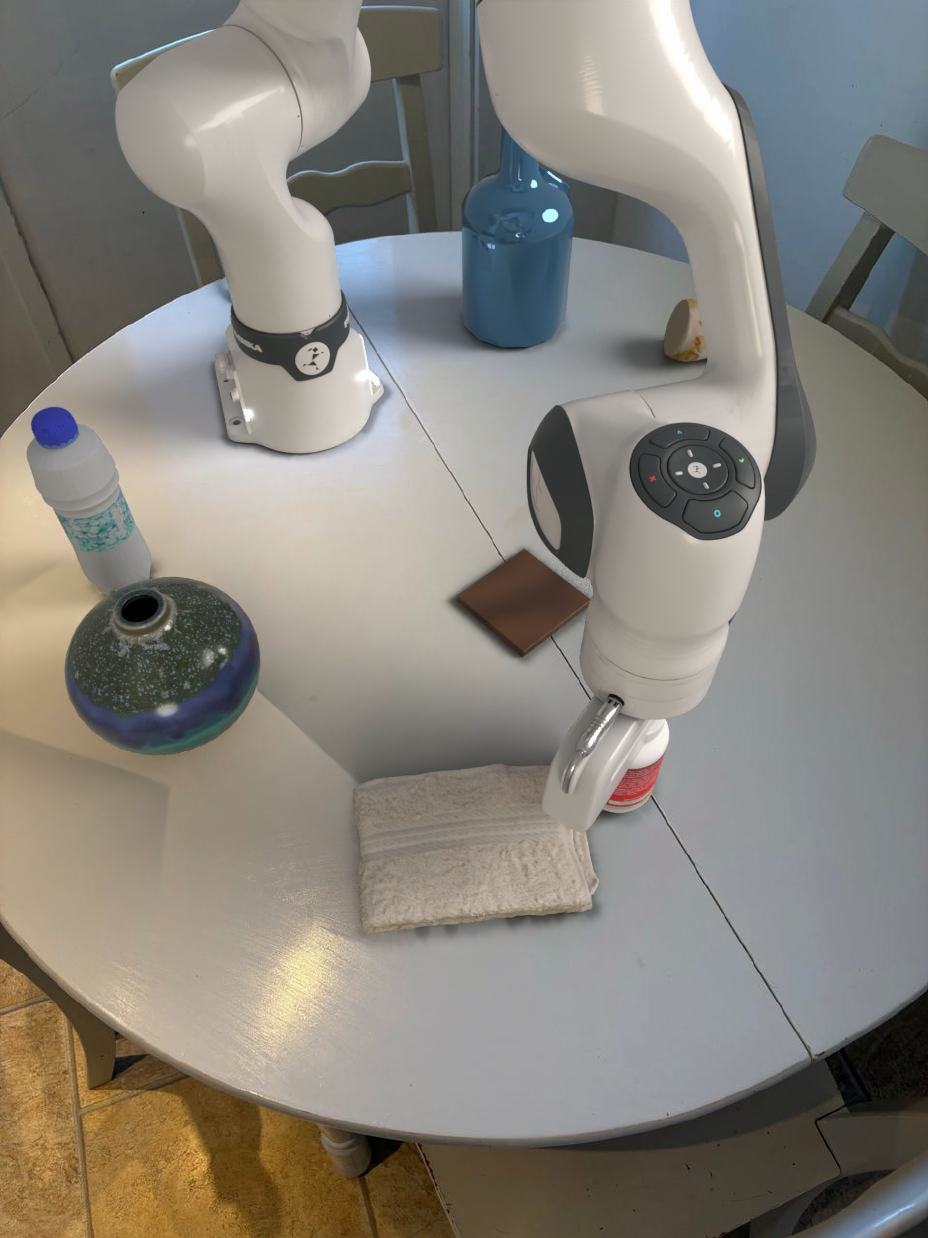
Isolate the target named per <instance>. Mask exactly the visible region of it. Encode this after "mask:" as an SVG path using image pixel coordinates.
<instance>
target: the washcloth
mask: <svg viewBox="0 0 928 1238" xmlns="http://www.w3.org/2000/svg"><path fill="white" fill-rule="evenodd" d="M550 766H551V764H550V765H549V764H548V765H540V764H537V765H524V766H519V765H506V764H504V763H492V764H488V765H484V766H476V767H470V768H469V767H468V768H461V769H448V770H447V769H445V770H437V771H428V772H425V773H418V774H413V775H400V776H388V777H379V778H374V779H371V780H368V781H365V782H363V783H360V784H357V785H355V787H354V788H353V789H352V794H353V795H352V797H351V799H352V804H353V809H354V810H353V811H354V812H353V816H354V821H355V825H356V826H355V827H356V828H357V835H359V850H360V852H359V858H360V863H358V865H357V871H358V873H357V885H358V890H357V892H358V899H359V916H360V917H359V921H360V925H361V929H362V931H364V932H365V934H366V935H369V934H371V933H373V934H376V933H382V932H392V931H394V932H395V933H396V932H397V933H398V932H399V931H400V930H402V929H403V930H404V929H406V930H412V929H416V928H422V927H423V928H425V927H437V926H439V925H440V926H445V925H451V926H455V925H457V924H473V923H474V922H475V923H477V922H478V923H479V922H481V921H488V920H493V919H495V918H496V919H505V918H515V917H518V916H521V917H522V916H529V915H530V916H547V915H557V914H561V913H566V914H569V913H574V912H575V913H584V912H587V911H591V910H592V908H593V897H592V896H593V895H594V894H595V892H596V890H597V889H598V887H599V883H600V879H599V878H598V875H597V874H596V872H595V870H594V865H593V862H592V857H591V852H590V847H589V840H588V835H587V831H584V832H577V831H574V830H572V829H570V828H568V827H566V826H565V825H563V824H561V823H560V822H558V821H556V820H555V819H553V818H552V817H551V816H549V815H548V814H547V813H545V812H544V810H543V809H542V806H541V800H542V796H543V791H544V787H545V783H546V779H547V776H548V772H549V769H550Z"/></svg>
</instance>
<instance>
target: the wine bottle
mask: <svg viewBox="0 0 928 1238" xmlns="http://www.w3.org/2000/svg"><path fill="white" fill-rule="evenodd" d="M500 140H501V141H500V155H499V168H498V169H497V170H496V171H493V172H491V173H488V174H486V175H484V176H483V177H482V178H481V179H479V180H478V181H477V182H476V183H475V184H474V185H472V187H471V188H470V189H469V190H468V191H466V194H465V195H464V198H463V200H462V202H461V211H460V212H461V215H460V216H461V217H460V218H461V300H462V301H461V302H462V303H461V304H462V305H461V306H462V307H461V308H462V323H463V324H464V326H465V328H466V329H467V330H468V331H469V332H470V333H471V334H473V335H474V336H475V337H476V338H477V339H478V340H479V341H481V342H484V343H488V344H491V345H494V346H497V347H500V348H529V347H532V346H535V345H537V344H540V343H542V342H545V341H548V340H551V339H552V338H553V336H554V335H555V334H556V333H557V332H558V330H559V329H560V328H561V327H562V326H563V324H564V322H565V320H566V313H567V303H568V293H569V281H570V271H571V260H572V250H573V240H574V237H573V236H574V229H575V228H574V227H575V213H574V209H573V204H572V200H571V196H570V195H569V192H570V185H569V184H568V183H567V182H566V181H564V180H562V179H560V178H559V177H557V176H556V175H555V174H553V173H552V172H550V170H548V169H546V168H545V167H543V166H542V165H540V162H539V161H537V160H536V159H534V158H533V157H531V156H530V155H529V154H528V153H527V152H525V151H524V150H523V149H522V148H521V147H520V146H519V145H518V144H517V143H516V142H515V141H514V140H513V139H512V138H511V136H510V135H509V134H508V132H507V131H506V130H505V128H504V127H503V125H502V124H501V137H500Z"/></svg>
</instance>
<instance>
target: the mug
mask: <svg viewBox="0 0 928 1238" xmlns="http://www.w3.org/2000/svg"><path fill="white" fill-rule="evenodd" d="M663 353H664V355H665V356H666V357H668V358H670V359H672V360H674V361H678V362H683V363H684V362H685V363H686V362H695V361H701V360H705V359H706V360H707V351H706V346H705V340H704V335H703V330H702V325H701V320H700V315H699V310H698V305H697V300H696V298H685V299H682V300H680V301H678V303H677V304H676V305H675V307H674V308H673V310H672V312H671V313H670V316H669V318H668V320H667V323H666V327H665V332H664V338H663Z"/></svg>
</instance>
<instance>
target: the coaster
mask: <svg viewBox="0 0 928 1238" xmlns="http://www.w3.org/2000/svg"><path fill="white" fill-rule="evenodd" d="M590 600H591V598H590V597H588V596H587V595H586V594H584V593H583V592H581V590H580V589H578V588H576V587H575V586H574V585H573V584H571V583H570V582H569V581H568V580H566V579H564V578H563V577H562V576H561V575H560V574H558V573H557V572H556V571H554V570H553V569H551V568H550V567H549V566H548V565H547V564H545V563H544V562H543V561H541V560H540V559H539V558H538V557H536V556H535V555H533V554H532V553H531V552H529V551H528V550H527V549H526V548H523V549H522V550H520V551H519V552H517V553H516V554H514V555H513V556H512V557H510V558H508V559H507V560H506V561H504V562H503V563H502V564H500V565H499V566H497V567H496V568H495V569H493V570H492V571H490V572H489V573H487V574H486V575H484V576H483V577H481V578H480V579H478V580H477V581H476V582H475V583H473V584H472V585H470V586H469V587H468V588H466V589H464V590H463V591H461V592H460V593H459V594H457V596H456V601H457V602H458V604H460V605H462V607H464V608H465V609H466V610H467V611H468V612H470V613H471V614H472V615H473V616H475V618H477V619H478V620H479V621H481V623H483V624H484V625H485V626H486V627H487V628H489V629H490V630H491V631H492V632H493V633H494V634H495V635H496V636H498V637H499V638H501V640H503V641H504V642H505V643H506V644H508V645H509V646H510V648H512V649H514V650H515V651H516V652H517V653H518V654H519V655H520V656H522V657H525V656H526V655H528V654H529V653H531V651H533V650H534V649H535V648H537V647H538V646H540V645H541V644H542V643H543V642H545V641H546V640H547V639H549V638H550V637H551V636H552V635H554V634H555V633H556V632H558V631H559V630H560V629H561V628H563V627H564V626H566V625H567V624H568V623H569V622H570V621H572V620H573V619H574V618H576V617H577V616H578V615H579V614H581V613H582V612H584V611H586V610H587V608H588V605H589V602H590Z"/></svg>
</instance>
